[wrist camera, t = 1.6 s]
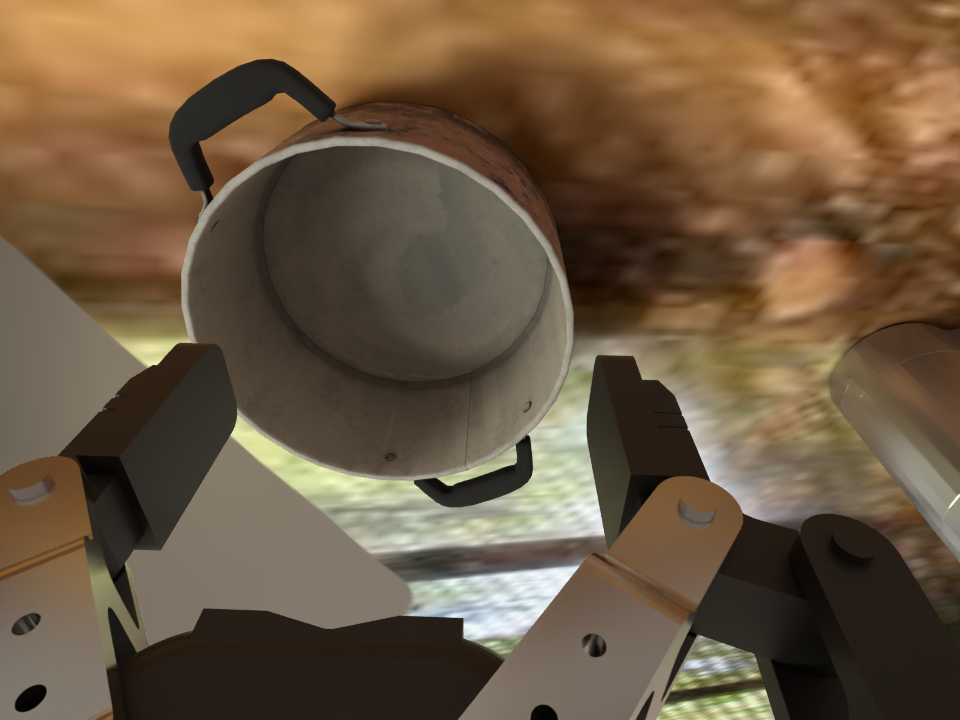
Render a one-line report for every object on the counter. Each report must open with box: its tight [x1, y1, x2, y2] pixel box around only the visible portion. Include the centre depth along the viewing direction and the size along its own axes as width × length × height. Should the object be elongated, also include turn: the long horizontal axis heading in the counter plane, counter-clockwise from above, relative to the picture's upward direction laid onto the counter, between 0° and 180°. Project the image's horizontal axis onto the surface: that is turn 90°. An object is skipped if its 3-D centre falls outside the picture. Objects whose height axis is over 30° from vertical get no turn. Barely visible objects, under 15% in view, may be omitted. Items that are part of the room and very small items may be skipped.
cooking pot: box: [169, 59, 574, 507], centre depth 38 cm, size 30×22×11 cm
